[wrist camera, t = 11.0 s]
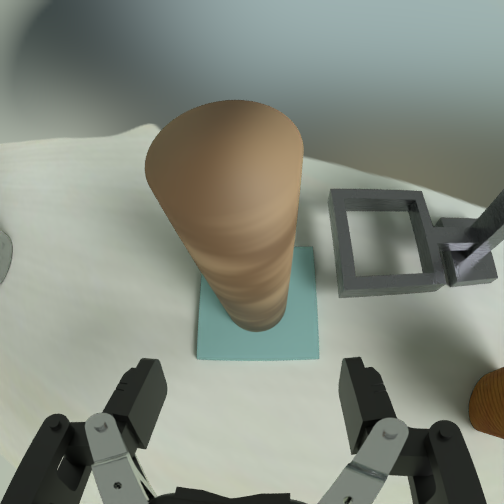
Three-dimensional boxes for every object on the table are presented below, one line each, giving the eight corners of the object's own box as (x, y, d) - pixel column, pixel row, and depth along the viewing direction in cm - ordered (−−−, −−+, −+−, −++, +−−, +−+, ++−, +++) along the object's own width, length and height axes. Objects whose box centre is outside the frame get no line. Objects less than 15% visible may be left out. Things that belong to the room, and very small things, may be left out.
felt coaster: (198, 359, 24) (196, 358, 23) (204, 251, 28) (203, 249, 28) (318, 358, 23) (319, 358, 23) (312, 248, 27) (312, 246, 27)
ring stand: (333, 306, 25) (396, 204, 11) (324, 216, 29) (351, 81, 15) (492, 291, 24) (590, 218, 10) (472, 217, 27) (542, 126, 14)
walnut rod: (226, 332, 24) (129, 220, 8) (228, 275, 26) (161, 108, 10) (287, 331, 24) (311, 212, 8) (285, 274, 26) (295, 97, 10)
